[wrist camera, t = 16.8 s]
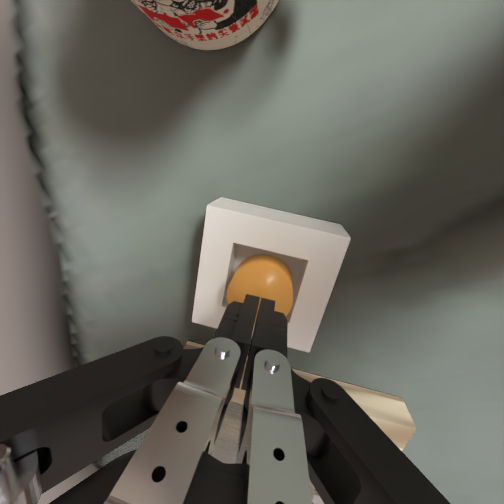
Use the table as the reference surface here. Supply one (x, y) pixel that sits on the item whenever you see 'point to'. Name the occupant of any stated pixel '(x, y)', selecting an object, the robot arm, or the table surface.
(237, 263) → the box
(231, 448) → the steel billet
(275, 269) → the button
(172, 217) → the table surface
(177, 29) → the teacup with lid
